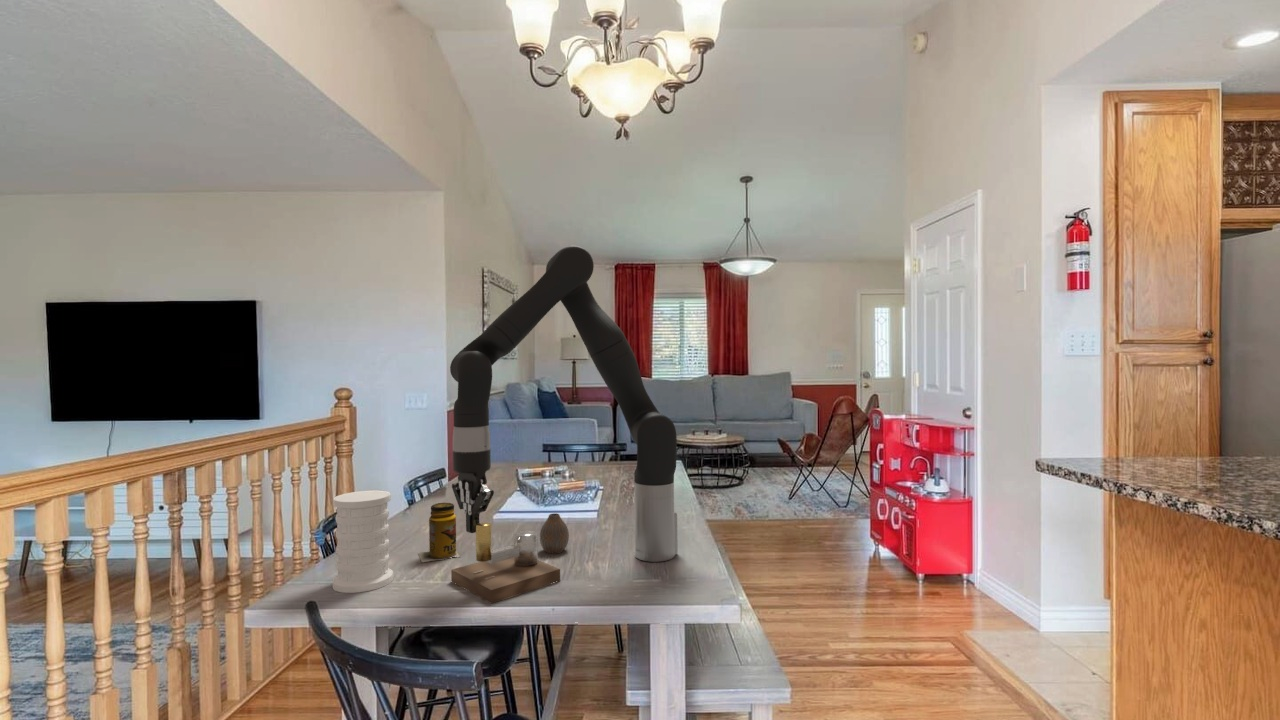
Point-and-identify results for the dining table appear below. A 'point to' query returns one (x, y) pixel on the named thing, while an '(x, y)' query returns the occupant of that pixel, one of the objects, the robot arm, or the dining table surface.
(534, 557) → the crank handle
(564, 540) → the vase
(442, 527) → the condiment
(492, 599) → the stand
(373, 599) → the dining table surface
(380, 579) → the decorative container
